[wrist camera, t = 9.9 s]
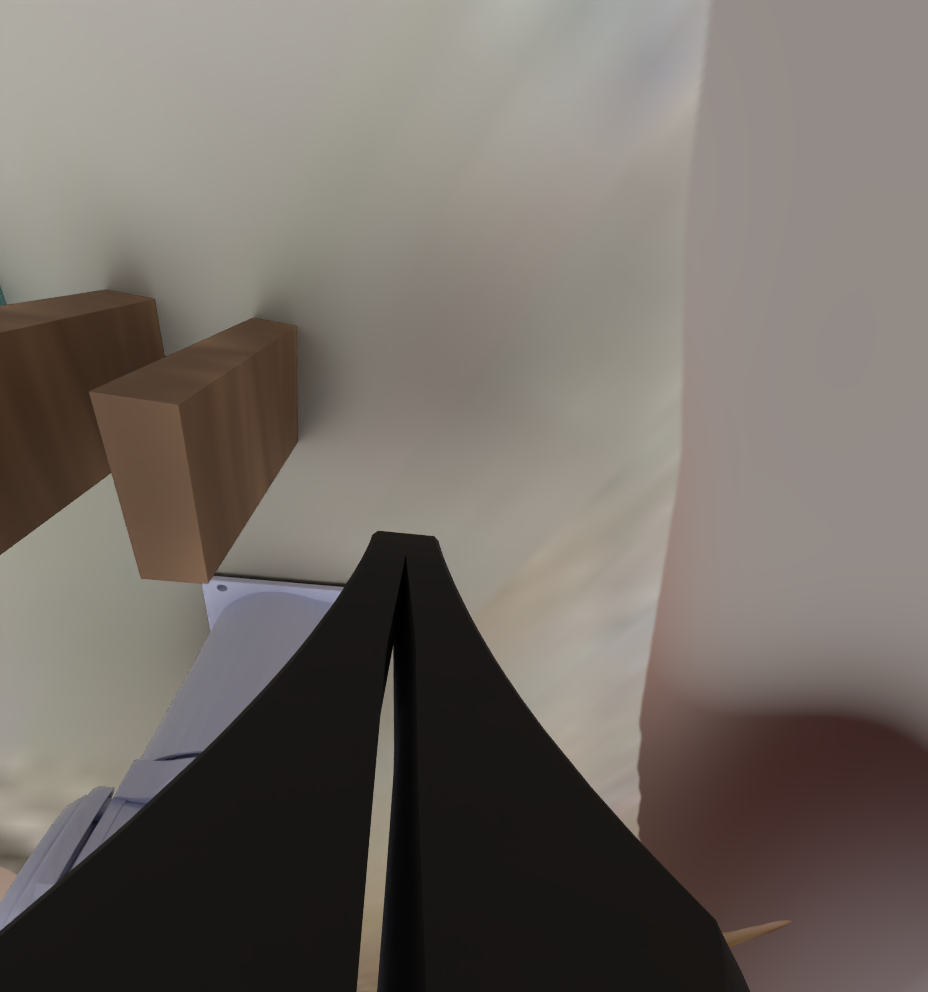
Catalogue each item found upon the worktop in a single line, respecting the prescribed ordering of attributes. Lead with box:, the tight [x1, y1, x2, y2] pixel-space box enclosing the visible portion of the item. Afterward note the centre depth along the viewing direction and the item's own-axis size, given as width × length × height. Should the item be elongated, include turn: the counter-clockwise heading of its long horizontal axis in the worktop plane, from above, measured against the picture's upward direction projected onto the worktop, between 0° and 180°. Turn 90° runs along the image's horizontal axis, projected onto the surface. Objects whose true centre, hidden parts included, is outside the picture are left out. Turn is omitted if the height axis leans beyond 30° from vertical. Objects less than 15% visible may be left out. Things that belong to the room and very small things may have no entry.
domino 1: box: [0, 290, 165, 555], centre depth 12 cm, size 2×5×9 cm, turn 169°
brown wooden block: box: [89, 318, 298, 584], centre depth 13 cm, size 2×5×9 cm, turn 169°
